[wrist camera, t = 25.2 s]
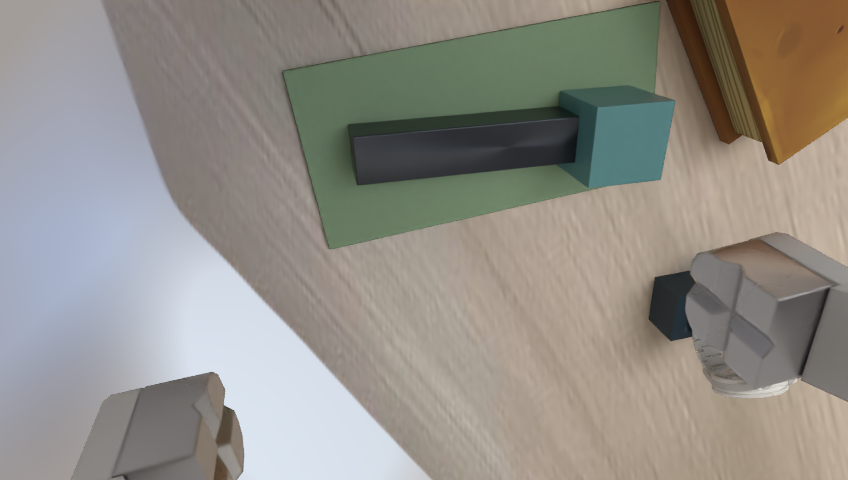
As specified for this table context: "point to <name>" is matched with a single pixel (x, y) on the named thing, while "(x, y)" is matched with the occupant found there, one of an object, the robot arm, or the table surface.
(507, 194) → the mat
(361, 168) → the teal headed hammer
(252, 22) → the table surface
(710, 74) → the diary
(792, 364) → the robot arm
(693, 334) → the watch
